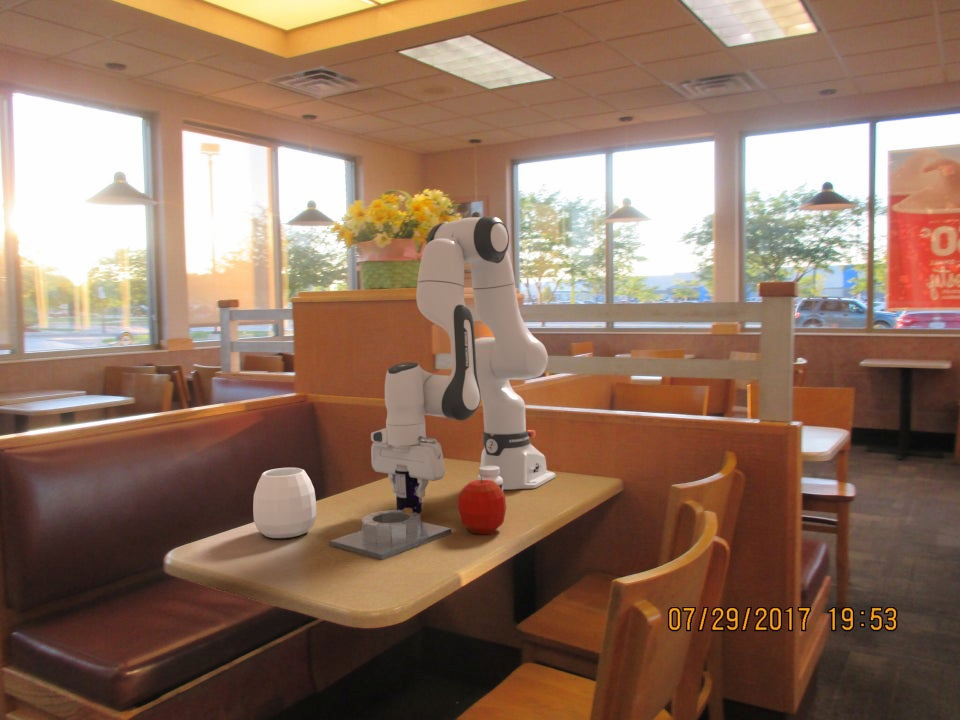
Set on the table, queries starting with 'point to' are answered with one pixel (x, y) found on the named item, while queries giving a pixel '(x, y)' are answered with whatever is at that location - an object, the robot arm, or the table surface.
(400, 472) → the beverage can
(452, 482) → the table surface
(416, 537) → the hub plate
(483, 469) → the pill bottle
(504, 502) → the apple
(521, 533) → the table surface
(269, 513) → the cup
